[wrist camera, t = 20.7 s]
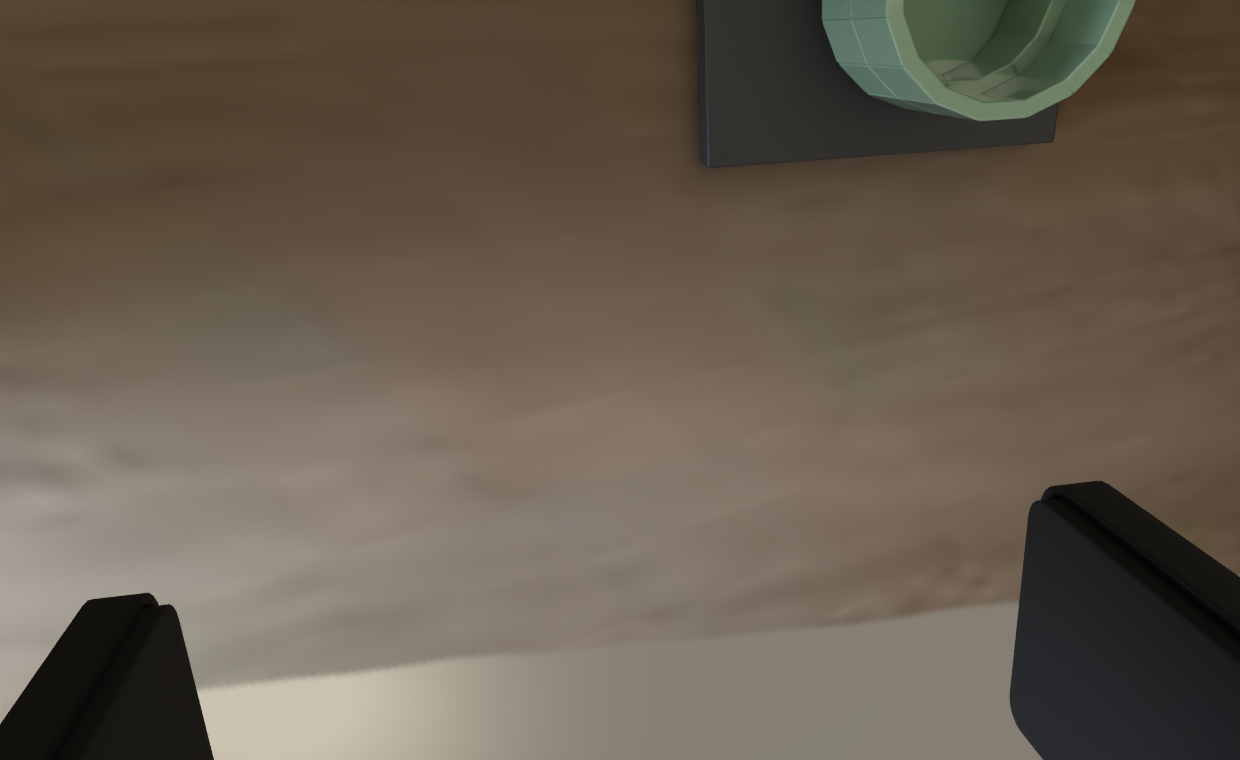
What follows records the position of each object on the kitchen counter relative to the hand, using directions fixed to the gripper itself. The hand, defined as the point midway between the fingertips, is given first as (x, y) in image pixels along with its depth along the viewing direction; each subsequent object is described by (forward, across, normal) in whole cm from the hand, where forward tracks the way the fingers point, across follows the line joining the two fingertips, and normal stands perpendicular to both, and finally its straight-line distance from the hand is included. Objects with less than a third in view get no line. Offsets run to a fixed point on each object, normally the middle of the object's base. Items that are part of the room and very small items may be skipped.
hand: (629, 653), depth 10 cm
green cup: (+22, -13, -7) cm, 27 cm away
